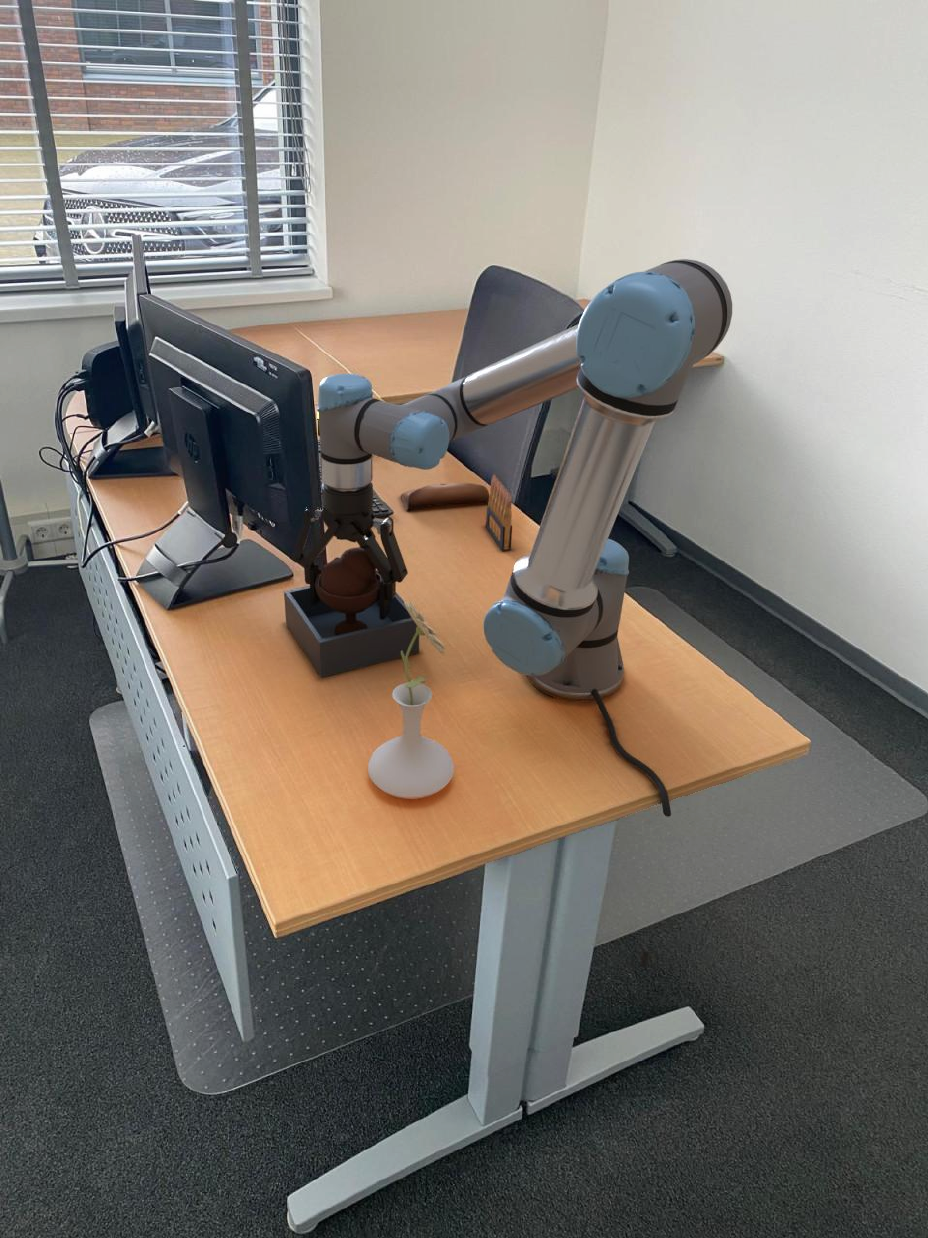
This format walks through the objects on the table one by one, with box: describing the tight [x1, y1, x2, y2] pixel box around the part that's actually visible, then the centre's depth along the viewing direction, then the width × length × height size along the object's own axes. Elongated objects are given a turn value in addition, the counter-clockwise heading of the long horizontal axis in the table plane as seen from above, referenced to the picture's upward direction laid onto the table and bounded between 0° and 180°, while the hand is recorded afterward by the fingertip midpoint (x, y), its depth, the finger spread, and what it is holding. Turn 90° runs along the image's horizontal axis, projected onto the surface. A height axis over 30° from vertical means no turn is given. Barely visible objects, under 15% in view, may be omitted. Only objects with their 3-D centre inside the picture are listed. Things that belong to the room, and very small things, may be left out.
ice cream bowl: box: [315, 546, 382, 636], centre depth 144 cm, size 11×11×15 cm
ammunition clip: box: [485, 473, 513, 552], centre depth 178 cm, size 11×2×12 cm, turn 17°
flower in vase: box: [367, 600, 455, 800], centre depth 115 cm, size 13×11×25 cm
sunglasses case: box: [400, 482, 490, 511], centre depth 194 cm, size 18×7×7 cm
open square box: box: [283, 585, 420, 678], centre depth 147 cm, size 17×17×6 cm
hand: (350, 608), depth 146 cm, fingers closed on ice cream bowl, 11 cm apart
